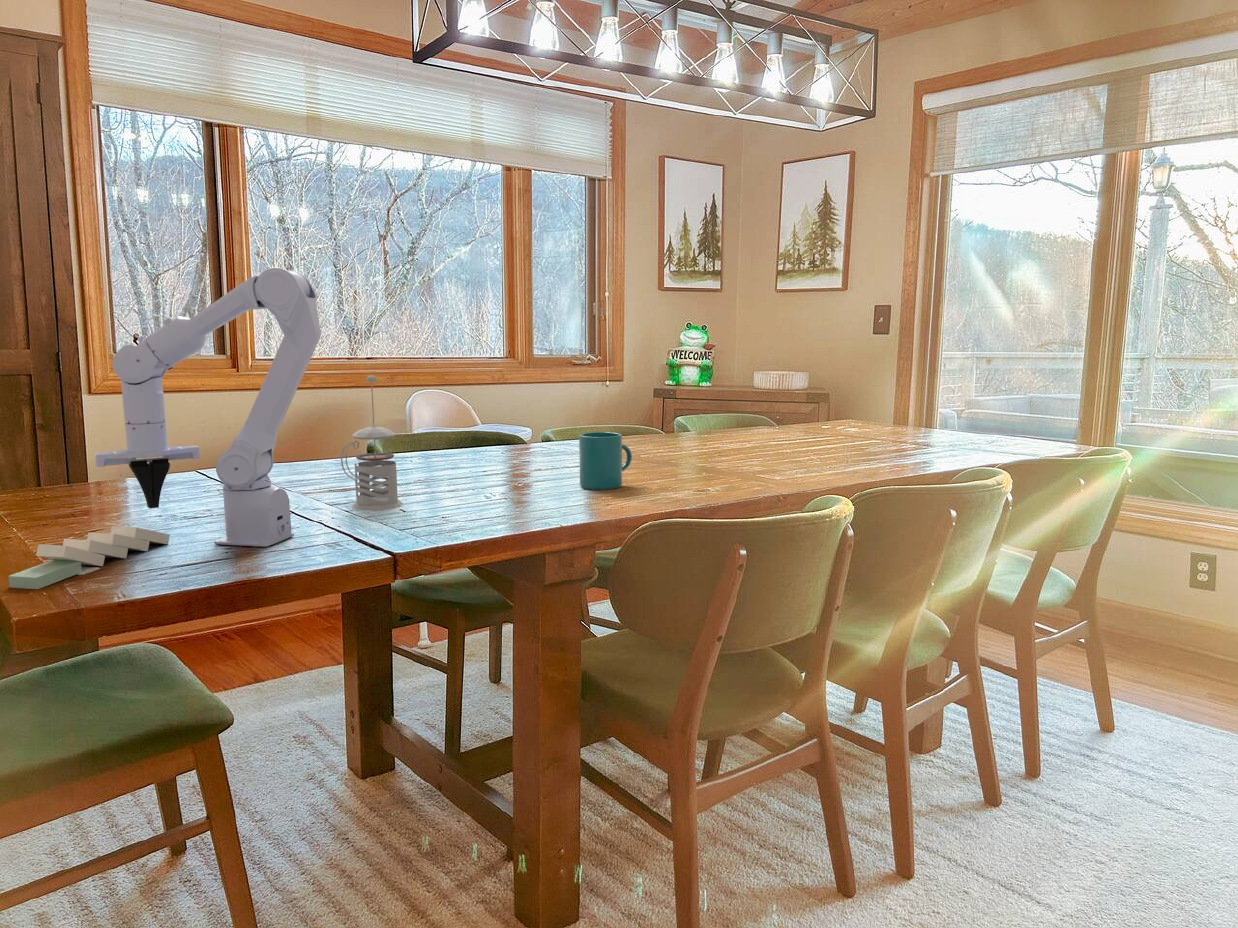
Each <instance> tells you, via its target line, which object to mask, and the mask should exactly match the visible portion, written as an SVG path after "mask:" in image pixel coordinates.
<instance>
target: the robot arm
mask: <svg viewBox="0 0 1238 928" xmlns="http://www.w3.org/2000/svg"><path fill="white" fill-rule="evenodd" d="M317 301H318V295H317V293H316V291H315V289H314V287H313V286H312V284H311V282H310V281H309V279H308V278H307V277H306V276H305V274H303V273H301V272H300V271H296V270H287V269H285V268H282V267H277V266H276V267H270V268H267V269H264V270H263V271H262V272H261V273H260V274H259V275H254V276H251V277H249V278H248V279H246V280H244V281H243V282H241V283H240V284H239V285H237V286H236V287H234V288H233V289H231V290H230V291H228V292H227V293H225V294H224V295H222V296H221V297H220V298H219V299H217V300H215V302H212V304H210V305H209V306H207V307H205V308H204V309H203V310H201V311H200V312H198V313H197V314H195V315H194V316H192V317H191V318H190V317H189V318H188V317H184V316H177V317H172V316H171V317H167V318H166V319H164V320H163V321H162V323H163V324H164V325H162V326H161V327H160V328H157V329H156V330H155V331H152V333H150V334H148V335H141V336H139V337H138V338H137V341H138V344H137V345H136V344H127V345H123V346H121V348H120V349H119V350H118V351H117V352H116V353H115V355H114V356H113V358H112V369H113V372H114V373H115V374H116V376H117V377H118V378H119V379H120V385H121V395H122V396H121V397H122V408H123V419H124V427H125V437H126V439H125V440H126V449H124V450H116V451H107V452H97V453H94V460H95V466H96V468H104V467H108V466H120V465H128V467H129V468H130V470H131V471H132V473H133V475H134V477H135V478H136V480H137V481H138V484H139V486H140V488H141V490H142V492H143V495H144V498H145V501H146V506H147V508H148V509H159V507H160V499H161V498H160V497H161V492H162V488H163V485H164V483H165V480H166V477H167V476H168V475H167V474H168V473H169V471H170V468H171V463H170V461H179V460H189V459H192V460H197V459H198V460H199V459H200V457H201V456H200V447H199V446H198V445H186V446H185V445H184V446H182V445H181V446H169V444H168V441H169V440H168V431H167V421H166V420H167V419H166V409H165V397H164V388H163V378H164V376H166V373H168V372H167V371H168V369H171V368H173V367H175V366H176V365H177V364H179V363H181V362H182V361H184V360H186V359H187V358H189V357H191V356H192V355H194V354H195V353H196V352H198V351H200V350H201V349H203V348H204V346H205V341H206V337H207V335H208V334H210V333H213V332H214V331H217V329H220V328H221V327H222V326H224V325H226V324H229V322H231V321H234V320H235V319H237V318H238V317H239V316H242V315H243V314H246V313H247V312H249V311H250V310H252V311H253V310H266V309H267V310H268V311H269V312H270V313H271V314H272V316H274V317H275V320H276V321H277V324H278V325H279V327H280V330H281V331H282V334H283V336H282V337H283V338H282V339H281V342H280V345H279V346H278V349H277V351H276V353H275V356H274V357H273V361H272V362H271V364H270V366H269V369H268V372H267V373H266V376H265V378H264V381H263V382H262V385H261V386H260V389H259V391H258V394H257V396H256V399H255V400H254V403H253V405H252V407H251V410H250V411H249V414H248V415H247V419H246V421H245V423H244V425H243V426H242V428H241V429H240V431H239V432H238V433H237V435H236V436H235V437H234V438H233V440H232V443H231V445H230V446H229V448H227V449H226V450H225V451H224V452H222V453H221V454H220V455H219V457H217V458H218V459H217V460H216V464H215V473H216V475H217V477H218V479H219V481H220V482H221V483H222V492H223V493H222V495H223V507H224V509H223V510H224V520H225V532H226V533H225V534H226V536H225V537H222V538H220V539H217V540H214V544H215V545H225V546H226V545H227V546H245V547H246V546H247V547H261V548H265V547H269V546H271V545H275V544H277V543H279V542H282V541H285V540H287V539H289V538H291V537H294V536H295V532H292V523H291V522H292V520H291V509H290V508H291V505H290V504H291V503H290V498H289V495H288V493H287V491H286V490H285V489H283V488H279V487H274V486H273V485H272V480H271V479H270V476H269V473H270V472H271V471H272V469H273V466H274V450H275V448H276V446H277V435H278V432H279V430H280V428H281V425H282V423H283V421H284V419H285V417H286V414H287V412H288V410H289V407H290V406H291V403H292V402H293V399H294V397H295V394H296V393H297V392H296V391H297V390H298V387H299V386H300V383H301V381H302V379H303V377H304V374H305V373H306V370H307V368H308V365H309V364H310V360H311V359H312V357H313V354H314V352H315V349H316V348H317V345H318V344H319V341H320V338H321V335H322V334H321V333H322V332H321V326H320V319H319V313H318V307H317Z"/></svg>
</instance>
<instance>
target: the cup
mask: <svg viewBox="0 0 1238 928" xmlns="http://www.w3.org/2000/svg"><path fill="white" fill-rule="evenodd" d="M578 435H579V437H578V440H579V442H578V443H579V444H578V445H579V446H578V447H579V448H578V449H579V455H578V456H579V457H578V458H579V485H580V486H581V488H584V489H586V490H589V491H590V490H592V491H593V490H594V491H607V490H610V491H611V490H615V489H618V488H620V487H621V486H622V485H623V471H625V470H627V469H628V468H629V466H630V465H631V462H632V457H633V456H632V451H631V449H630V448H629V447H628V446H627V445H625V444H623V435H622V433H619V432H612V431H592V432H584V433H580V434H578ZM623 450H624V452H625V453H626V459H625V461H624V463H623Z"/></svg>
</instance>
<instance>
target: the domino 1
mask: <svg viewBox="0 0 1238 928" xmlns="http://www.w3.org/2000/svg"><path fill="white" fill-rule="evenodd" d="M81 567H82V565H81V561H67V560H53V559H51V560H50V561H46V562H44V563H41V564H38V565H35V566H32V567H29V568H27V569H24V570H22V571H21V570H20V571H18V572H16V573H12V574H10V575H8V583H9V588H13V589H14V588H15V589H28V590H29V589H31V590H39V589H42V588H44V587H47V586H49V585H52V584H55V583H57V582H60V581H62V580H66V579H68V578H71V577H73V576H75V575H76V574H79V573H81V572H82V569H81ZM76 576H77V575H76Z"/></svg>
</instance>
